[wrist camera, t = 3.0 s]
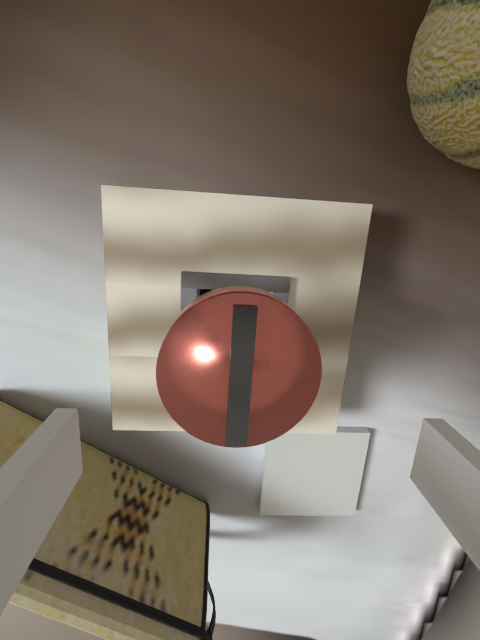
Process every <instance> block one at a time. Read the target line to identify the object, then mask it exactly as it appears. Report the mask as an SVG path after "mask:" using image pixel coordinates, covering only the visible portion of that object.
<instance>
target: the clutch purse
mask: <svg viewBox="0 0 480 640" xmlns="http://www.w3.org/2000/svg"><path fill="white" fill-rule="evenodd" d="M42 423H43V422H42V421H40V420H38V419H36V418H34V417H32V416H30V415H28V414H26V413H24V412H22V411H20V410H18V409H16V408H14V407H12V406H10V405H8V404H6V403H4V402H2V401H0V468H1V467H2V466H3V465H4V464H5V463H6V462H7V461H8V460H9V459H10V457H11V456H12V455H13V454H14V453H15V452H16V451H17V450H18V449H19V448H20V447H21V446H22V445H23V443H24V442H25V441H26V440H27V439H28V438H29V437H30V436H31V435H32V434H33V433H34V432H35V430H36V429H37V428H38V427H39V426H40V425H41V424H42ZM81 455H82V468H83V473H82V474H81V476H80V478H79V480H78V481H77V483H76V485H75V487H74V488H73V490H72V492H71V493H70V495H69V497H68V499H67V500H66V502H65V504H64V506H63V507H62V509H61V511H60V513H59V514H58V516H57V518H56V520H55V521H54V523H53V525H52V527H51V528H50V530H49V532H48V534H47V535H46V537H45V539H44V541H43V542H42V544H41V546H40V547H39V549H38V551H37V553H36V554H35V556H34V558H33V560H32V561H31V563H30V565H29V567H28V568H27V570H26V572H25V574H24V575H23V577H22V579H21V581H20V582H19V584H18V586H17V588H16V589H15V591H14V593H13V594H12V596H11V598H10V600H9V601H8V603H11V604H13V605H16V606H19V607H21V608H24V609H27V610H29V611H32V612H34V613H37V614H40V615H43V616H45V617H48V618H50V619H53V620H56V621H59V622H61V623H64V624H66V625H69V626H72V627H74V628H77V629H80V630H83V631H85V632H88V633H90V634H93V635H96V636H98V637H101V638H103V639H106V640H212V634H213V630H214V626H215V618H216V612H215V601H214V596H213V593H212V590H211V587H210V584H209V582H208V558H209V534H210V511H209V505H208V503H207V502H205V501H204V502H202V501H200V500H198V499H196V498H194V497H192V496H190V495H188V494H186V493H184V492H182V491H180V490H178V489H176V488H174V487H172V486H170V485H168V484H166V483H164V482H162V481H160V480H158V479H156V478H154V477H152V476H150V475H148V474H146V473H144V472H142V471H140V470H138V469H136V468H134V467H132V466H130V465H128V464H126V463H124V462H122V461H120V460H118V459H116V458H114V457H112V456H110V455H108V454H106V453H104V452H102V451H100V450H98V449H96V448H94V447H92V446H90V445H88V444H86V443H84V442H82V441H81ZM208 592H209V594H210V597H211V600H212V604H213V614H212V619H211V622H210V626H209V627H208V626H206V614H207V593H208Z"/></svg>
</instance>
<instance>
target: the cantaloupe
mask: <svg viewBox="0 0 480 640" xmlns="http://www.w3.org/2000/svg"><path fill="white" fill-rule="evenodd" d="M407 89H408V94H409V97H410V106H411V113H412V116H413V118H414V120H415V122H416V123H417V125H418V128H419V130H420V132H421V134H422V135H423V137H424V138H425V140H427V141H428V143H430V144H431V145H432V146H434V147H435V148H436V149H438V150H439V151H441V152H443V153H444V154H445V155H446V156H447V157H448V158H450V159H452V160H453V161H455V162H458V163H461V164H462V165H465V166H468V167H470V168H476V169H480V0H432V1H431V3H430V5H429V8H428V10H427V13H426V15H425V17H424V20H423V22H422V24H421V25H420V27H419V30H418V32H417V34H416V37H415V40H414V44H413V47H412V51H411V55H410V63H409V65H408V75H407Z"/></svg>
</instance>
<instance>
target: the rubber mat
mask: <svg viewBox="0 0 480 640" xmlns="http://www.w3.org/2000/svg"><path fill="white" fill-rule="evenodd" d="M369 438H370V432H369V430H368V429H367V428H363V427H337V431H336V434H294V433H285V434H283V435H281V436H280V437H278V438H276V439H274V440H271V441H269V442H266V443H265V451H264V461H263V472H262V482H261V493H260V503H259V512H260V516H355V511H356V506H357V501H358V496H359V490H360V485H361V480H362V475H363V470H364V464H365V459H366V454H367V449H368V444H369Z"/></svg>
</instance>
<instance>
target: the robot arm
mask: <svg viewBox="0 0 480 640" xmlns="http://www.w3.org/2000/svg"><path fill="white" fill-rule="evenodd" d="M82 473H83V468H82V455H81V441H80V428H79V415H78V408H56V409H55V410H54V411H53V412H52V413H51V414H50V415H49V416H48V418H47V419H46V420H45V421H44V422H43V423H42V424H41V425H40V426H39V427H38V428H37V429H36V430H35V432H34V433H33V434H32V435H31V436H30V437H29V438H28V439H27V440H26V441H25V442H24V443H23V445H22V446H21V447H20V448H19V449H18V450H17V451H16V452H15V453H14V454H13V455H12V456H11V457H10V459H9V460H8V461H7V462H6V463H5V464H4V465H3V466H2V467H1V468H0V615H1V614H2V612H3V610H4V608H5V607H6V605H7V603H8V601H9V600H10V598H11V596H12V594H13V593H14V591H15V589H16V588H17V586H18V584H19V582H20V581H21V579H22V577H23V575H24V574H25V572H26V570H27V568H28V567H29V565H30V563H31V561H32V560H33V558H34V556H35V554H36V553H37V551H38V549H39V547H40V546H41V544H42V542H43V541H44V539H45V537H46V535H47V534H48V532H49V530H50V528H51V527H52V525H53V523H54V521H55V520H56V518H57V516H58V514H59V513H60V511H61V509H62V507H63V506H64V504H65V502H66V500H67V499H68V497H69V495H70V493H71V492H72V490H73V488H74V487H75V485H76V483H77V481H78V480H79V478H80V476H81V474H82ZM410 478H411V480H412V481H413V482H414V484H415V485H416V486H417V488H418V489H419V490H420V492H421V493H422V494H423V496H424V497H425V498H426V500H427V501H428V502H429V504H430V505H431V506H432V508H433V509H434V511H435V512H436V513H437V515H438V516H439V517H440V519H441V520H442V521H443V523H444V524H445V525H446V527H447V528H448V529H449V531H450V532H451V533H452V535H453V536H454V537H455V539H456V540H457V541H458V543H459V544H460V545H461V547H462V548H463V549H464V551H465V552H466V553H467V555H468V556H469V557H470V559H471V560H472V561H473V563H474V564H475V565H476V567H477V568H478V569H479V571H480V451H479V450H478V449H476V448H475V447H474V446H473V445H472V444H471V443H470V442H468V441H467V440H466V439H465V438H464V437H463V436H462V435H460V434H459V433H458V432H457V431H456V430H455V429H454V428H452V427H451V426H450V425H449V424H448V423H447V422H445V421H444V420H443V419H431V418H424V419H423V423H422V427H421V432H420V436H419V440H418V445H417V449H416V453H415V457H414V462H413V466H412V470H411V475H410Z"/></svg>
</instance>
